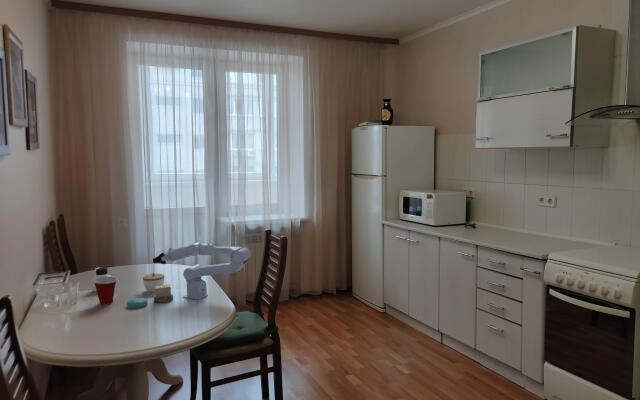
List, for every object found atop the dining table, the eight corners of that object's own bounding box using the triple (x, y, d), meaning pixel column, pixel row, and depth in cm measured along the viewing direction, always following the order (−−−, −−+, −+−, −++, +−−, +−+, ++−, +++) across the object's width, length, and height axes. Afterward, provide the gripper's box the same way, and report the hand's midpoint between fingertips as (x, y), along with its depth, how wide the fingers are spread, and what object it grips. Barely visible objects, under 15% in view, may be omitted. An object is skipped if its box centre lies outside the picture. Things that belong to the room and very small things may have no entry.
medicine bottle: (112, 287, 256) (111, 266, 254) (105, 291, 249) (103, 269, 247) (99, 287, 256) (98, 266, 255) (92, 291, 249) (90, 269, 248)
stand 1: (151, 303, 228) (151, 299, 227) (137, 309, 219) (136, 305, 219) (137, 301, 231) (137, 297, 231) (123, 307, 223) (122, 302, 223)
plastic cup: (109, 307, 224) (108, 282, 222) (89, 305, 226) (88, 281, 225) (123, 299, 234) (122, 276, 233) (104, 298, 236) (102, 275, 235)
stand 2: (177, 298, 235) (176, 294, 235) (163, 304, 227) (163, 300, 227) (163, 296, 239) (163, 292, 238) (149, 301, 231) (149, 297, 230)
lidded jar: (151, 294, 242) (150, 276, 241) (139, 291, 249) (138, 273, 248) (169, 289, 251) (168, 272, 250) (157, 286, 257) (156, 269, 256)
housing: (170, 294, 236) (170, 284, 235) (171, 296, 232) (170, 286, 231) (155, 295, 233) (155, 286, 233) (155, 298, 229) (155, 288, 229)
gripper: (185, 243, 245) (163, 249, 248) (169, 248, 231) (146, 254, 235) (189, 256, 245) (167, 262, 249) (173, 262, 231) (151, 268, 235)
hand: (157, 259), depth 242 cm, fingers open, 7 cm apart
